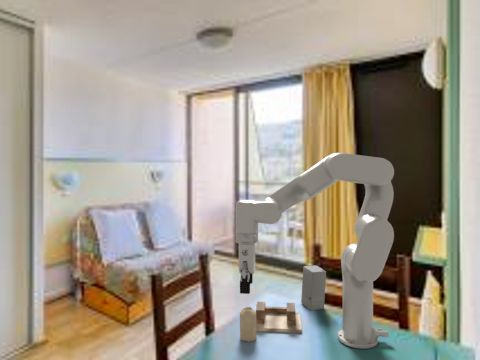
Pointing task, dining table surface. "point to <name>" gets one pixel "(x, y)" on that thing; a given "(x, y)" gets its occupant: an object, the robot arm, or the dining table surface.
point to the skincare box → (313, 287)
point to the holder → (277, 318)
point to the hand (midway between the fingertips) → (246, 288)
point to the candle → (248, 324)
